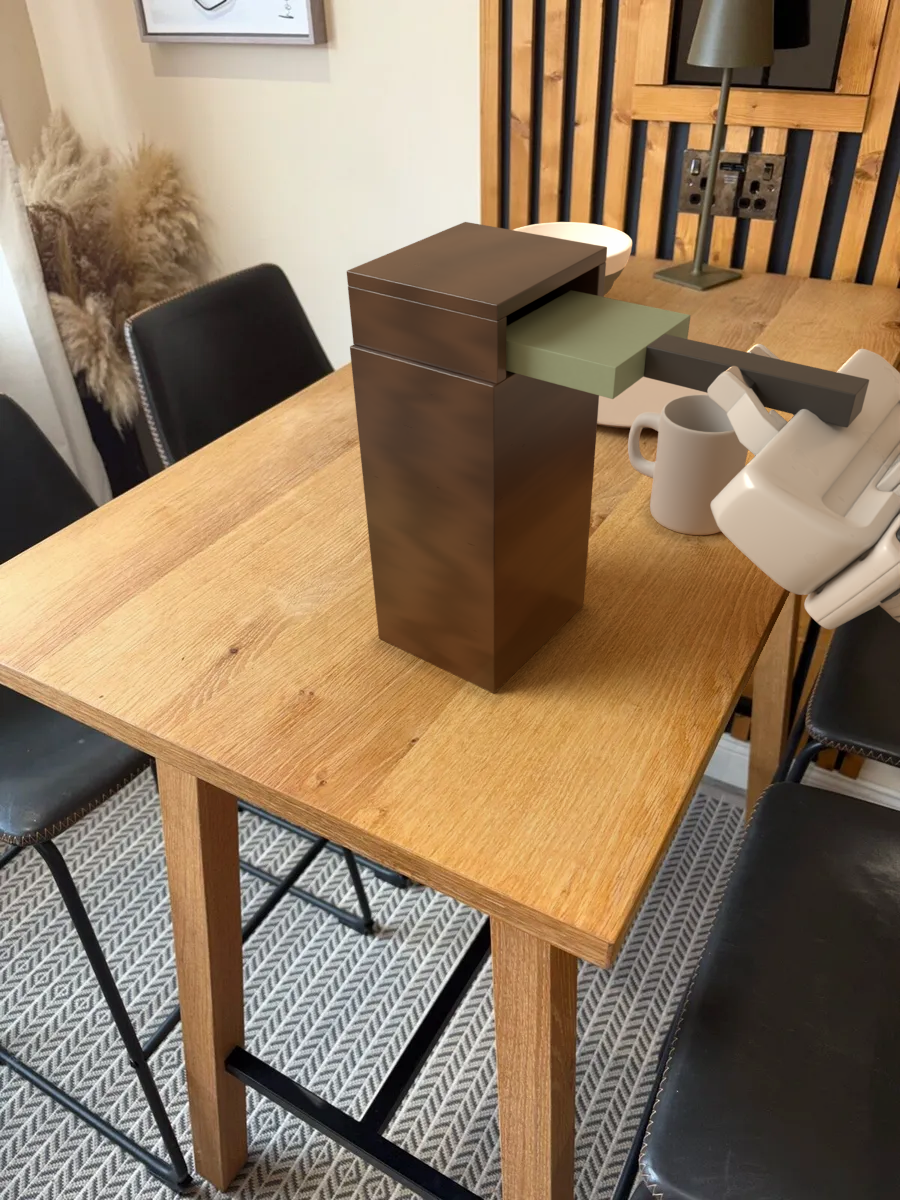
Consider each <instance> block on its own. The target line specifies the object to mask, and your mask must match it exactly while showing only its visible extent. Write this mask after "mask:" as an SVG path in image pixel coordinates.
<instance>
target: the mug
mask: <svg viewBox="0 0 900 1200" xmlns="http://www.w3.org/2000/svg"><path fill="white" fill-rule="evenodd" d="M644 427H650V428H649V429H653V430H655V431H657V432H658V433H657V443H656V444H657V445H656V452H655V453H656V454H655V461H653V460H648V459H647V458H645V457H644V456H643V454H642V452H641V447H640V445H641V444H640V439H641V433H642V431H643V429H645V428H644ZM748 452H749V450H748V449H747V448H746V447H745V446H744V445H743V444H742V443H740V441H739V439H738V437H737V435H736V433H735V431H734V429H733V427H732V425H731V423H730V420H729V418H728V416H727V413H726V412H725V411H724V410H723V409H722V408H721V407H720V406H719V405H718V404H717V403H715V402H714V401H713V400H712V399H711V398H710V397H709V395H687V396H682V397H678V398H675V399H673V400H671V401H669V402H668V403H667V404H666V405H665V406H664V407H663V409H662V412H661V413H656V412H644V413H642V414H640V415H638V416H637V417H636V419H635V420H634V422H633V424H632V426H631V429H630V430H629V433H628V439H627V454H628V460H629V463H630V465H631V466H632V468H633V469H634V470H635V471H636V472H638V473H639V474H641V475H643V476H646V477H648V478H649V479H650V478H651V479H652V485H651V493H650V501H649V511H650V514H651V517H652V518H653V519H654V520H655V521H656V523H658V524H659V525H660V526H662V527H663V528H666V529H668V530H670V531H673V532H676V533H679V534H684V535H692V536H707V535H714V534H717V533H722V531H721V530H720V529H719V527H718V526H717V523H716V521H715V518H714V516H713V513H712V510H711V506H710V505H711V501H712V500H713V499H714V498H715V497H716V496H717V495H718V494H719V493H720V492H721V491H722V490H723V489H724V488H725V487H726V486H727V484H728V483H729V482H730V481H731V480H732V479H733V478H734V477H735V476H736V475H737V474H738V473H739V472H740V471H741V470H742V469H743V468H744V467H745V466H746V463H747V457H748Z"/></svg>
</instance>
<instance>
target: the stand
mask: <svg viewBox="0 0 900 1200" xmlns="http://www.w3.org/2000/svg"><path fill="white" fill-rule="evenodd" d="M606 257H607V247H605V246H599V245H593V244H588V243H582V242H576V241H571V240H565V239H560V238H554V237H548V236H543V235H537V234H531V233H526V232H520V231H514V229H510V228H509V229H508V228H503V227H497V226H492V225H485V224H479V223H474V222H469V221H463V222H461V223H459V224H456V225H453V226H452V227H449V228H447V229H444V230H442V231H440V232H437V233H435V234H433V235H430V236H428V237H425V238H422V239H420V240H417V241H416V242H413V243H411V244H407V245H406V246H403V247H401V248H398V249H396V250H393V251H391V252H388V253H386V254H384V255H381V256H379V257H377V258H374V259H372V260H369V261H366V262H364V263H362V264H360V265H357V266H355V267H352V268H350V269H348V270H346V281H347V292H348V302H349V303H348V304H349V312H350V324H351V334H352V343H353V344H352V345H350V346H349V353H350V363H351V371H352V383H353V393H354V403H355V413H356V423H357V432H358V433H357V434H358V442H359V453H360V462H361V472H362V473H361V475H362V483H363V492H364V502H365V503H364V504H365V513H366V523H367V532H368V533H367V534H368V540H369V541H368V543H369V544H368V545H369V553H370V562H371V573H372V582H373V583H372V585H373V592H374V593H373V594H374V603H375V604H374V605H375V612H376V613H375V615H376V623H377V633H378V639H379V640H381V641H383V642H386V643H388V644H389V645H391V646H394V647H396V648H397V649H400V650H402V651H404V652H406V653H408V654H410V655H413V656H415V657H416V658H418V659H421V660H422V661H424V662H427V663H429V664H430V665H433V666H434V667H437V668H439V669H441V670H444V671H446V672H448V673H450V674H452V675H454V676H456V677H458V678H461V679H462V680H464V681H466V682H469V683H471V684H473V685H475V686H477V687H480V688H481V689H483V690H485V691H488V692H490V693H492V694H496V693H497V692H498V691H499V690H500V689H501V688H502V687H503V686H504V685H505V684H506V683H507V682H508V681H509V680H510V679H511V678H512V677H513V676H514V675H515V674H516V673H517V672H518V671H519V670H520V669H521V668H522V667H523V666H524V665H525V664H526V663H527V662H528V661H529V660H530V659H531V658H532V657H533V656H534V655H535V654H536V653H537V652H538V651H539V650H540V649H541V648H542V647H543V646H544V645H545V644H546V643H547V642H548V641H549V640H550V639H551V638H553V636H554V635H556V633H557V632H558V631H559V630H561V628H562V627H563V626H564V625H565V624H567V623H568V622H569V620H570V619H572V617H573V616H575V614H577V613H578V612H579V610H581V609H582V607H584V606H585V597H586V596H585V595H586V583H587V582H586V581H587V570H588V569H587V568H588V557H589V556H588V555H589V554H588V553H589V552H588V551H589V540H590V529H591V528H590V527H591V526H590V525H591V513H592V500H593V499H592V498H593V486H594V485H593V484H594V471H595V458H596V445H597V444H596V443H597V431H598V430H597V429H598V425H597V418H598V405H599V395H595V394H592V393H588V392H584V391H580V390H577V389H573V388H569V387H566V386H562V385H558V384H554V383H551V382H547V381H543V380H539V379H536V378H532V377H528V376H524V375H521V374H517V373H513V372H510V371H506V326H508V325H510V324H512V323H513V322H515V321H517V320H519V319H521V318H522V317H524V316H526V315H528V314H529V313H531V312H533V311H535V310H537V309H538V308H540V307H542V306H544V305H546V304H547V303H549V302H551V301H553V300H554V299H556V298H558V297H560V296H562V295H563V294H565V293H567V292H569V291H570V290H572V291H577V292H582V293H587V294H592V295H596V296H601V297H605V295H604V285H605V270H606Z"/></svg>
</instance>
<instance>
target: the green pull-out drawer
mask: <svg viewBox="0 0 900 1200" xmlns="http://www.w3.org/2000/svg"><path fill="white" fill-rule="evenodd" d="M690 322H691V314H689V313H688V314H687V313H682V312H678V311H673V310H668V309H665V308H664V309H663V308H658V307H654V306H649V305H645V304H640V303H636V302H635V303H634V302H631V301H630V302H629V301H624V300H619V299H615V298H611V297H606V296H604V297H601V296H596V295H592V294H587V293H582V292H577V291H572V290H570V291H569V292H567V293H565V294H563V295H562V296H560V297H558V298H556V299H554V300H553V301H551V302H549V303H547V304H546V305H544V306H542V307H540V308H538V309H537V310H535V311H533V312H531V313H529V314H528V315H526V316H524V317H522V318H521V319H519V320H517V321H515V322H513V323H512V324H510V325H508V326H506V371H510V372H513V373H517V374H521V375H524V376H528V377H532V378H536V379H539V380H543V381H547V382H551V383H554V384H558V385H562V386H566V387H569V388H573V389H577V390H580V391H584V392H588V393H592V394H595V395H599V396H603V397H607V398H610V399H614V398H615V397H617V396H618V395H620V394H621V393H622V392H624V391H625V390H626V389H628V388H629V387H630V386H632V385H633V384H634V383H636V382H637V381H638V380H640V379H641V378H642V377H646V378H650V379H654V380H658V381H662V382H666V383H670V384H674V385H678V386H682V387H686V388H690V389H694V390H698V391H702V392H706V393H708V391H707V390H708V388H709V386H710V385H711V384H712V383H713V382H714V381H715V379H716V378H717V377H718V376H719V375H720V374H721V373H722V372H724V371H725V370H726V369H727V368H729V367H730V366H737V367H738V368H740V369H741V370H742V372H743V374H746V375H747V376H748V377H750V378H751V379H752V380H753V381H754V382H755V384H754V385H753V386H752V387H751V389H752V390H753V391H754V393H755V394H756V396H757V397H758V399H759V400H760V401H761V403H762V404H763V406H764V407H765V409H769V410H770V409H771V410H775V411H779V412H782V413H787V414H790V415H793V414H794V415H796V414H797V413H798V412H799V411H800V410H802V409H806V410H808V411H810V412H812V413H813V414H815V415H816V416H817V417H818V418H819V419H820V420H822V421H823V422H826V423H830V424H834V425H838V426H842V427H848V426H849V425H850V424H851V423H852V422H853V421H854V419H855V418H856V417H857V416H858V415H859V414H860V412H861V411H862V407H863V403H864V399H865V395H866V392H867V388H868V384H869V379H865V378H860V377H856V376H851V375H847V374H842V373H838V372H836V371H833V370H828V369H823V368H819V367H816V366H815V367H814V366H810V365H807V364H806V365H805V364H802V363H797V362H793V361H788V360H784V359H780V358H779V359H780V360H779V359H775V358H770V357H766V356H761V355H757V354H752V353H748V352H747V351H743V350H738V349H734V348H729V347H724V346H720V345H715V344H713V343H712V344H711V343H706V342H703V341H698V340H694V339H689V331H690ZM794 415H793V416H794Z"/></svg>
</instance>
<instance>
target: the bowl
mask: <svg viewBox="0 0 900 1200" xmlns="http://www.w3.org/2000/svg"><path fill="white" fill-rule="evenodd" d="M513 230H514V231H520V232H526V233H531V234H537V235H543V236H548V237H554V238H560V239H565V240H571V241H576V242H582V243H588V244H593V245H599V246H605V247H607V257H606V270H605V285H604V296H606V295H607V293H609V292H610V290H611V289H613V288H612V287H613V286H614V283H615V282H616V280H617V279H618V278H619V277H620V276H621V274H622V272H623V271H624V270H625V267H626V266H627V265H628V262H629V259H630V256H631V253H632V248H633V239H632V238H631V237H630V236H629V235H628V234H627V233H625V232H624V231H622V230H619V229H617V228H614V227H612V226H611V227H610V226H606V225H601V224H596V223H589V222H577V221H575V222H574V221H555V222H543V223H534V224H529V225H525V226H521V227H516V228H514V229H513Z"/></svg>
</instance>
